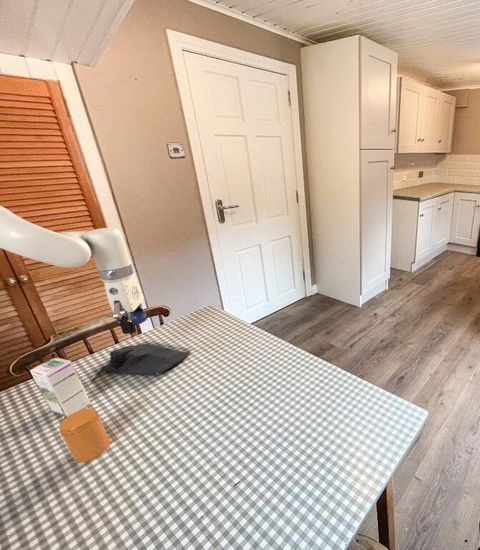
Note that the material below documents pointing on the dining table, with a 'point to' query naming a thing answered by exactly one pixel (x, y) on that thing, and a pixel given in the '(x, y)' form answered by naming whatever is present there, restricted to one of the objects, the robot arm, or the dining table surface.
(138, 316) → the lid
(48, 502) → the dining table surface
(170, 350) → the dark slate chunk
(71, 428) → the jar
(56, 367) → the syrup box
